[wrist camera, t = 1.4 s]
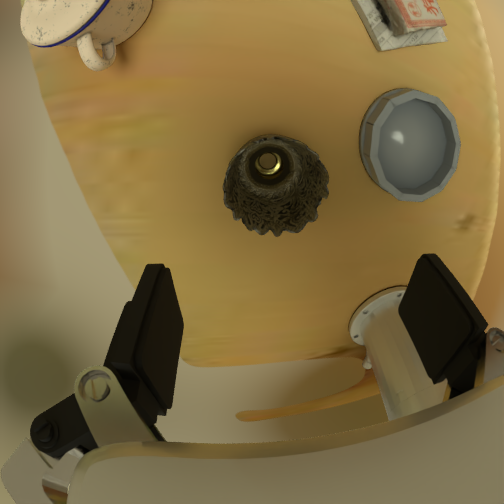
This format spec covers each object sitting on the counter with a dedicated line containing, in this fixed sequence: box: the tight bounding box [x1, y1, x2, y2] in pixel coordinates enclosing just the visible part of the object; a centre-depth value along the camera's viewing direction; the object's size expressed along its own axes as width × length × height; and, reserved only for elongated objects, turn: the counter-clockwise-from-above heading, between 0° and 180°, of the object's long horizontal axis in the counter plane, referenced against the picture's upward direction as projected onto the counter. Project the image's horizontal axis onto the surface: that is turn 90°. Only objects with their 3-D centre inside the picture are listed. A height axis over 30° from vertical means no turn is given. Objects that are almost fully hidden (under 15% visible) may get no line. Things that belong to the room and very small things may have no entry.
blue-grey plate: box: [359, 88, 461, 202], centre depth 22 cm, size 12×12×2 cm
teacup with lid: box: [21, 0, 152, 71], centre depth 11 cm, size 12×9×12 cm
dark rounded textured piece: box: [223, 135, 329, 237], centre depth 22 cm, size 8×7×8 cm
